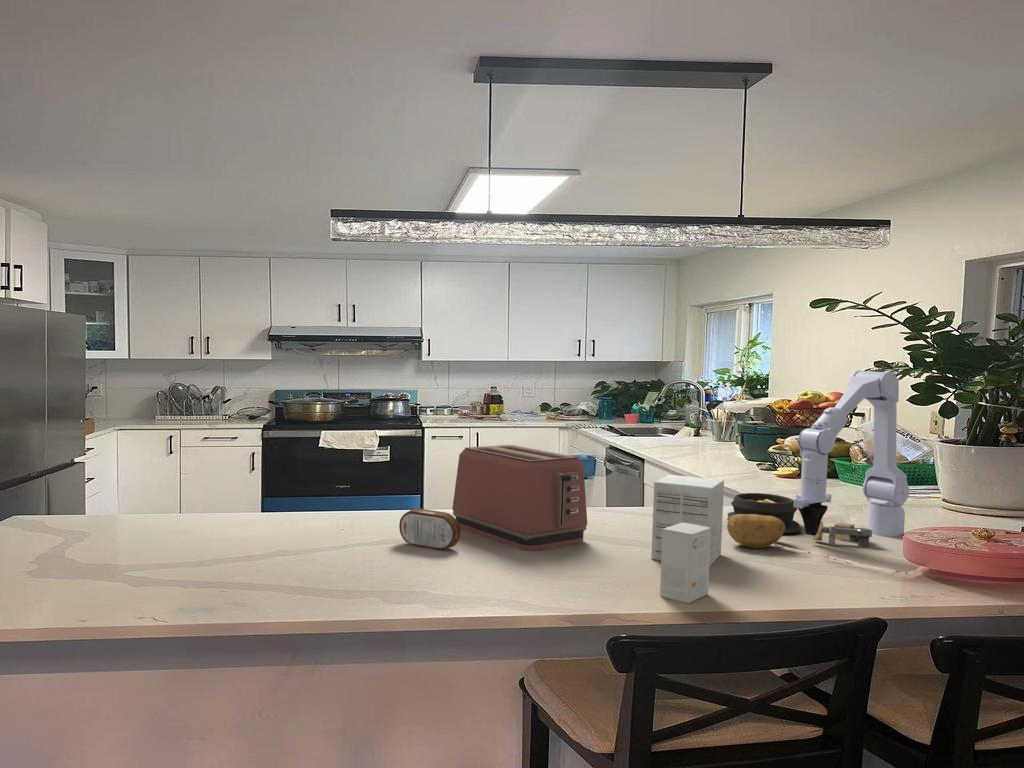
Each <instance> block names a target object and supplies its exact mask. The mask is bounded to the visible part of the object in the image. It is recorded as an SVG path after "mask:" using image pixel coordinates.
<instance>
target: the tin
mask: <svg viewBox="0 0 1024 768" xmlns="http://www.w3.org/2000/svg"><path fill="white" fill-rule="evenodd" d="M398 526H399V533H400V536H401V538H402V539H403V540H404V542H405V543H407V544H408V545H410V546H415V547H419V548H427V549H433V550H437V551H445V550H448V549H450V548H452V547H454V546H456V545H457V544H458V543H459V541H460V537H461V528H460V526H459V524H458V522H457V520H456V517H455V516H454V515H453V514H450V513H449V512H444V511H439V510H438V511H437V510H432V509H425V508H419V507H418V508H416V507H415V508H412V509H410V510H408V511H407V512H405V513H404V514H402V516H401V518H400V519H399V524H398Z"/></svg>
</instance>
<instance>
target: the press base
mask: <svg viewBox="0 0 1024 768" xmlns="http://www.w3.org/2000/svg"><path fill="white" fill-rule="evenodd" d="M828 527H829V533H828V546H830V547H831V546H832V547H835V546H836V539H835V532H836V527H834V526H833V525H831V526H828ZM849 542H851V543H855V544H856V543H857V546H859V547H866V548H868V547H869V545H870V537H861V536H858V541H856V540H855V539H853V540H850V541H849Z"/></svg>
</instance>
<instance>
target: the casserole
mask: <svg viewBox="0 0 1024 768" xmlns="http://www.w3.org/2000/svg"><path fill="white" fill-rule="evenodd" d="M730 504H731V505H732V507H733V511H731V512H730V511H729V512H728V513H727V518H726V519H727V521H728V520H729V518H730V517H731V516H733V515H736V514H757V515H765V516H773V517H776V518H779V519H780V520H782V521H783V522H784V524H785V530H784V533H783V534H796V533H797V534H798V533H801V532H802V531H803V530H802V528H801V525H800V523H799V522H798V521H796V520H794V516H795V513H796V511H798V508H795V507H793V506H794V499H792V498H790V497H787V496H784V495H783V496H782V495H778V494H770V493H759V492H756V493H755V492H752V493H751V492H745V493H738V494H736V495H735V496H734V498H733V501H731V503H730Z"/></svg>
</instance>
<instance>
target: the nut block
mask: <svg viewBox="0 0 1024 768" xmlns="http://www.w3.org/2000/svg"><path fill="white" fill-rule="evenodd" d="M833 525H834V527H836V528H851V529H853V527H854V528H856V527H855V524H853V523H845V522H837V523H835V524H833ZM835 540H840V541H846V542H850V540H853V535H844V534H835Z"/></svg>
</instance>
